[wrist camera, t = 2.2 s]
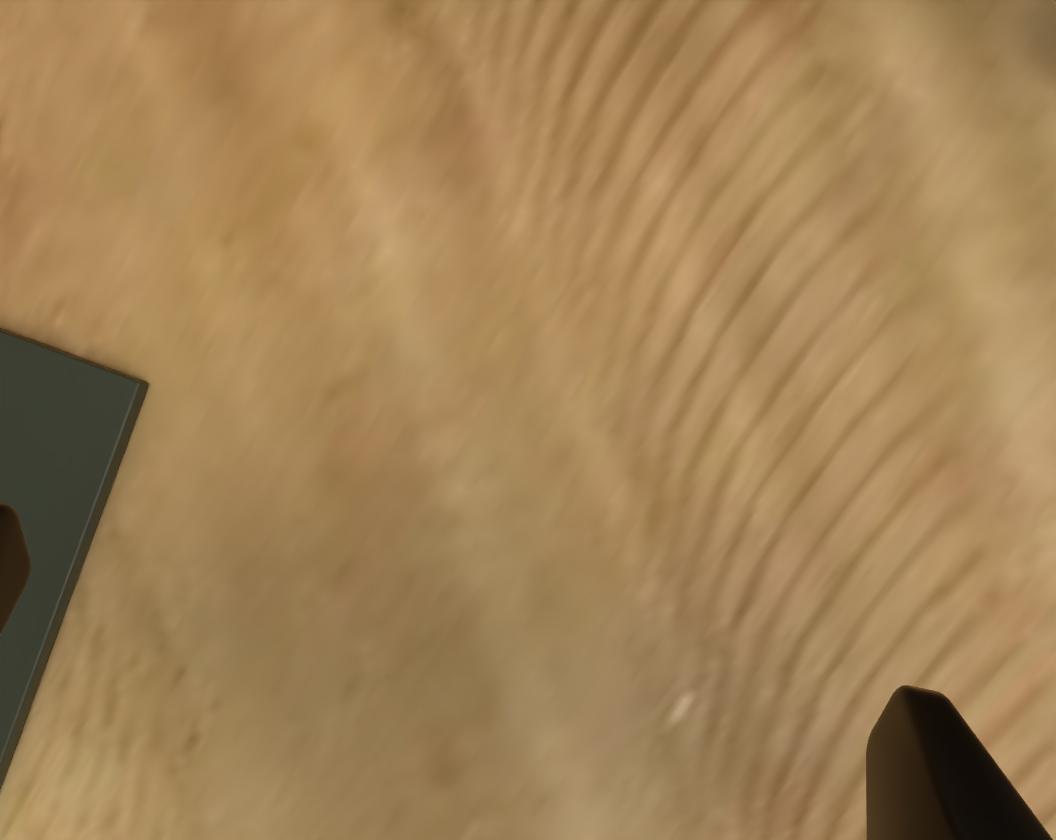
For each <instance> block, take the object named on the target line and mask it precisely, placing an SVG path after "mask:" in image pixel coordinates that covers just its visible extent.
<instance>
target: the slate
mask: <svg viewBox="0 0 1056 840" xmlns="http://www.w3.org/2000/svg"><path fill="white" fill-rule="evenodd" d="M147 388H148V383H147V382H145V381H142V380H139V379H136V378H134V377H131V376H128V375H126V374H123V373H120V372H118V371H115V370H112V369H109V368H107V367H104V366H101V365H99V364H96V363H93V362H90V361H88V360H85V359H82V358H80V357H77V356H74V355H72V354H69V353H66V352H63V351H61V350H58V349H55V348H53V347H50V346H47V345H44V344H42V343H39V342H36V341H34V340H31V339H28V338H25V337H23V336H20V335H17V334H15V333H12V332H9V331H7V330H4V329H1V328H0V503H4V504H8V505H10V506H12V507H13V508H14V509H15V510H16V511H17V513H18V516H19V519H20V523H21V527H22V530H23V534H24V538H25V541H26V545H27V549H28V552H29V556H30V561H31V569H30V575H29V578H28V581H27V583H26V586H25V588H24V590H23V592H22V594H21V596H20V598H19V600H18V602H17V604H16V605H15V607H14V609H13V611H12V613H11V615H10V617H9V619H8V621H7V623H6V625H5V627H4V629H3V631H2V633H1V635H0V788H1V786H2V783H3V780H4V777H5V775H6V772H7V769H8V766H9V764H10V761H11V758H12V756H13V753H14V750H15V747H16V745H17V742H18V739H19V737H20V734H21V731H22V728H23V726H24V723H25V720H26V717H27V715H28V712H29V709H30V707H31V704H32V701H33V698H34V696H35V693H36V690H37V688H38V685H39V682H40V679H41V677H42V674H43V671H44V669H45V666H46V663H47V660H48V658H49V655H50V652H51V649H52V647H53V644H54V641H55V639H56V636H57V633H58V630H59V628H60V625H61V622H62V620H63V617H64V614H65V611H66V609H67V606H68V603H69V600H70V598H71V595H72V592H73V590H74V587H75V584H76V581H77V579H78V576H79V573H80V571H81V568H82V565H83V562H84V560H85V557H86V554H87V552H88V549H89V546H90V543H91V541H92V538H93V535H94V532H95V530H96V527H97V524H98V522H99V519H100V516H101V513H102V511H103V508H104V505H105V503H106V500H107V497H108V494H109V492H110V489H111V486H112V483H113V481H114V478H115V475H116V473H117V470H118V467H119V464H120V462H121V459H122V456H123V454H124V451H125V448H126V445H127V443H128V440H129V437H130V435H131V432H132V429H133V426H134V424H135V421H136V418H137V415H138V413H139V410H140V407H141V405H142V402H143V399H144V396H145V394H146V391H147Z"/></svg>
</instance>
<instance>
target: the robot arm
mask: <svg viewBox="0 0 1056 840" xmlns="http://www.w3.org/2000/svg"><path fill="white" fill-rule="evenodd" d="M30 569H31V561H30V556H29V552H28V549H27V545H26V541H25V538H24V534H23V530H22V527H21V523H20V519H19V516H18V513H17V511H16V510H15V509H14V508H13V507H12V506H10V505H8V504H4V503H0V635H1V633H2V631H3V629H4V627H5V625H6V623H7V621H8V619H9V617H10V615H11V613H12V611H13V609H14V607H15V605H16V604H17V602H18V600H19V598H20V596H21V594H22V592H23V590H24V588H25V586H26V583H27V581H28V578H29V575H30ZM866 800H867V840H1053V839H1052V838H1051V837H1050V835H1049V834H1048V832H1047V831H1046V830H1045V828H1044V827H1043V826H1042V824H1041V823H1040V822H1039V820H1038V819H1037V818H1036V816H1035V815H1034V814H1033V812H1032V811H1031V809H1030V808H1029V807H1028V805H1027V804H1026V803H1025V801H1024V800H1023V799H1022V797H1021V796H1020V795H1019V793H1018V792H1017V791H1016V789H1015V788H1014V787H1013V785H1012V784H1011V782H1010V781H1009V780H1008V778H1007V777H1006V776H1005V774H1004V773H1003V772H1002V770H1001V769H1000V768H999V766H998V765H997V764H996V762H995V761H994V759H993V758H992V757H991V755H990V754H989V753H988V751H987V750H986V749H985V747H984V746H983V745H982V743H981V742H980V741H979V739H978V738H977V737H976V735H975V734H974V732H973V731H972V730H971V728H970V727H969V726H968V724H967V723H966V722H965V720H964V719H963V718H962V716H961V715H960V714H959V712H958V711H957V710H956V708H955V707H954V705H953V704H952V703H951V701H950V700H949V699H948V698H947V697H946V696H944V695H943V694H942V693H940V692H937V691H933V690H928V689H923V688H918V687H913V686H908V685H907V686H901V687H899V688H898V689H896V691H895V692H894V693H893V695H892V697H891V698H890V700H889V702H888V703H887V705H886V707H885V709H884V710H883V712H882V714H881V716H880V717H879V719H878V721H877V723H876V724H875V726H874V728H873V729H872V732H871V734H870V736H869V739H868V744H867V751H866Z"/></svg>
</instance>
